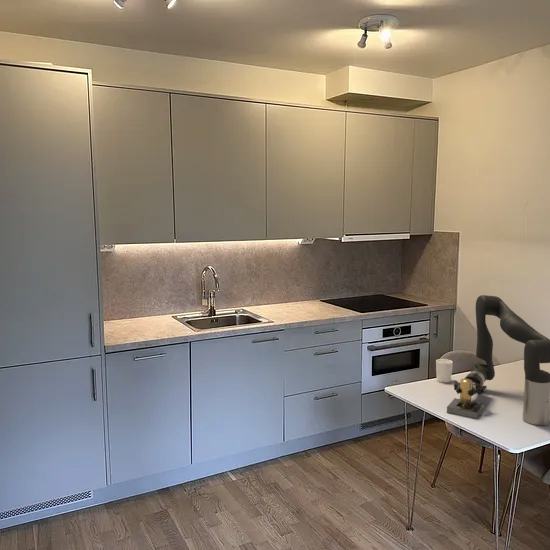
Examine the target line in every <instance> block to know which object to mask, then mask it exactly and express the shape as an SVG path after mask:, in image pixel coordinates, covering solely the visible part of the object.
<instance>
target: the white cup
mask: <svg viewBox="0 0 550 550" xmlns="http://www.w3.org/2000/svg"><path fill="white" fill-rule="evenodd" d="M435 372H436V381H437V382H440V383H450V382H451V381H452V373H453V361H452V360H451V359H447V358H439V359H436V360H435Z"/></svg>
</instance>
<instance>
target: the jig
mask: <svg viewBox="0 0 550 550" xmlns="http://www.w3.org/2000/svg"><path fill="white" fill-rule="evenodd" d="M459 406H460V398H453V399H452V400H451V402H450V403H449V404H448V405H447V406H446V413H448V414H452V415H456V416H461V417H465V418H471V419H476V420H477V419H478V418H479V416H480V413H481V414H482V412H483V411H484V407H485V406H484V403H481V402H476V401H472V400H471V409H468V408H463V407H459Z"/></svg>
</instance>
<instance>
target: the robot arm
mask: <svg viewBox="0 0 550 550" xmlns="http://www.w3.org/2000/svg"><path fill="white" fill-rule="evenodd" d="M486 315H487V316H494V317H497V319H499V326H500V329H501V330H502V331H503V332H504V333H505V334H506V335H507V336H508V337H509V338H510V339H512V340H514V341H517V342H519V343H522V344H525V345H524V347H523V371H524V388H523V406H522V420H523V421H524V422H526V423H528V424H530V425H535V426H547V427H548V425H549V422H550V372H548V371H546V370H543V369H541V366H540V365H541V364H550V338H548V337H547V336H545V335H543V334H542V333H540V332H539V331H537V330H536V329H534V327H532V326H531V325H530V324H529V323H527V322H526V321H525V320H524V319H523V318H522V317H521V316H519V315H518V314H516V313H515V312H514V311H513V310H512V309H510V307H509V306H508V305H507V304H506V303H505V302H504V301H503V300H502V298H500V297H498V296H497V295H496V296H495V295H488V294H487V295H485V294H483V295H479V296H478V297H477V299H476V301H475V319H476V320H475V321H476V337H477V338H476V340H477V341H476V348H475V349H476V352H475V355H476V358H478V359H480V360H483V361H484V362H485V363H486V364H485V363H476V362H475V363H473V364H472V365H471V367H470V372H469V373H468V374H467V375H466V376H464V378H463V379H470V380H472V389H471V390H470V396H472V397H473V396H475V395H476V394H477V395H483V394H485V393H486V392H487V387H488V386H487V385H485V382H486V381H491V380H493V379H494V378H495V376H496V375H495V374H496V373H495V366H494V362H493V361H494V360H493V349H494V348H493V347H494V340H493V336H492V334H491V333H490V331H489V328H488V326H487V322H486V318H487V317H486ZM453 382H454V383H453V390H454V391H455V392H456V394H458V395H460V382H459V381H457V380H456V379H455V380H454V381H453Z"/></svg>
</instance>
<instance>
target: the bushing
mask: <svg viewBox="0 0 550 550" xmlns="http://www.w3.org/2000/svg"><path fill="white" fill-rule="evenodd" d="M459 383H460V393H459V399H460V406H459V407H463V408H468V409H471V401H472V397H473V395H472V396H470V390H471V389H472V380H470V379H464V378H461V379H460V382H459Z"/></svg>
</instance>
